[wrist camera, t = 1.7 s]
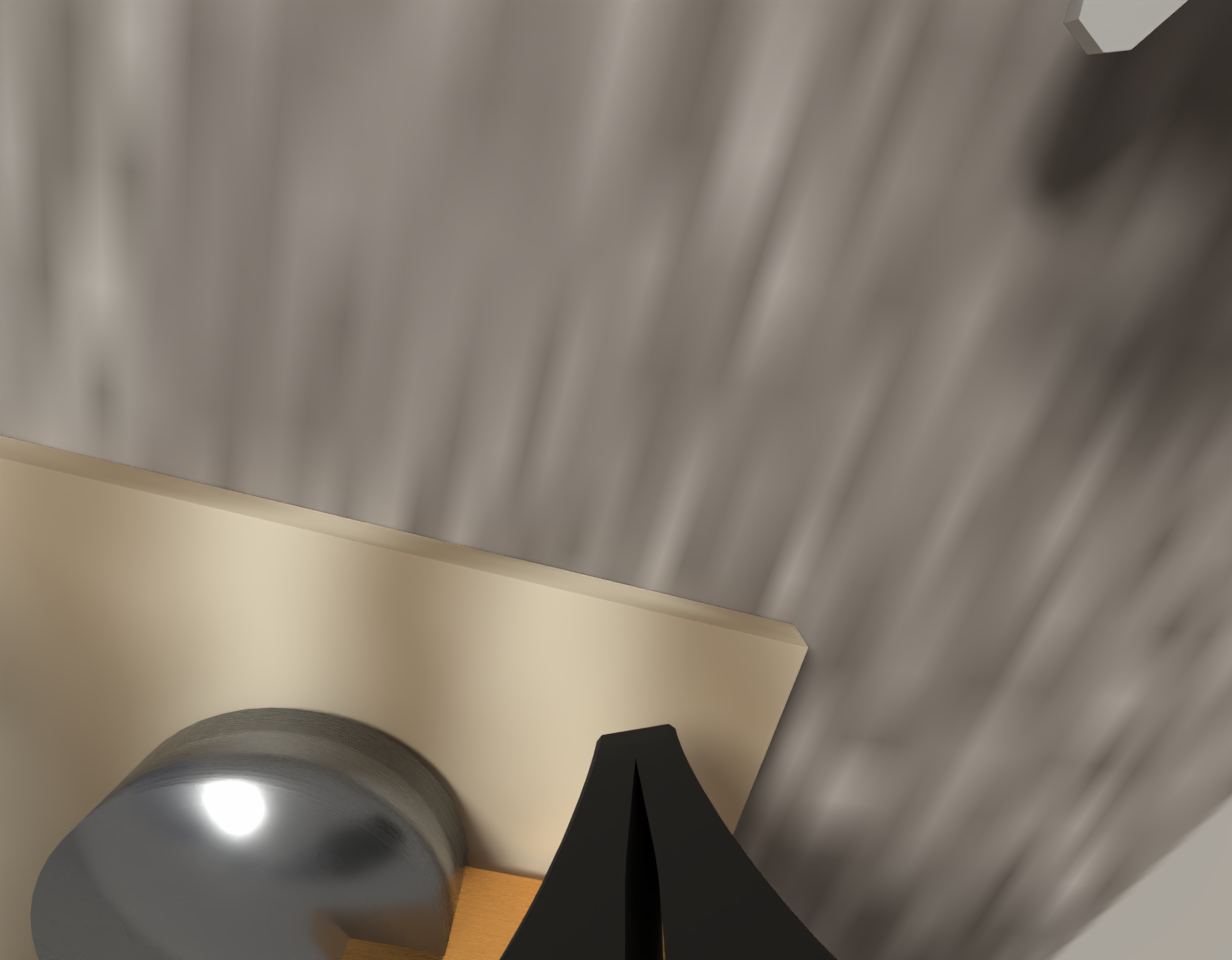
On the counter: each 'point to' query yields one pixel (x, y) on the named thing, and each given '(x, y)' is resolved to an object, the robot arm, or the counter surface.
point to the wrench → (1115, 22)
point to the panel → (337, 657)
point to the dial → (274, 854)
